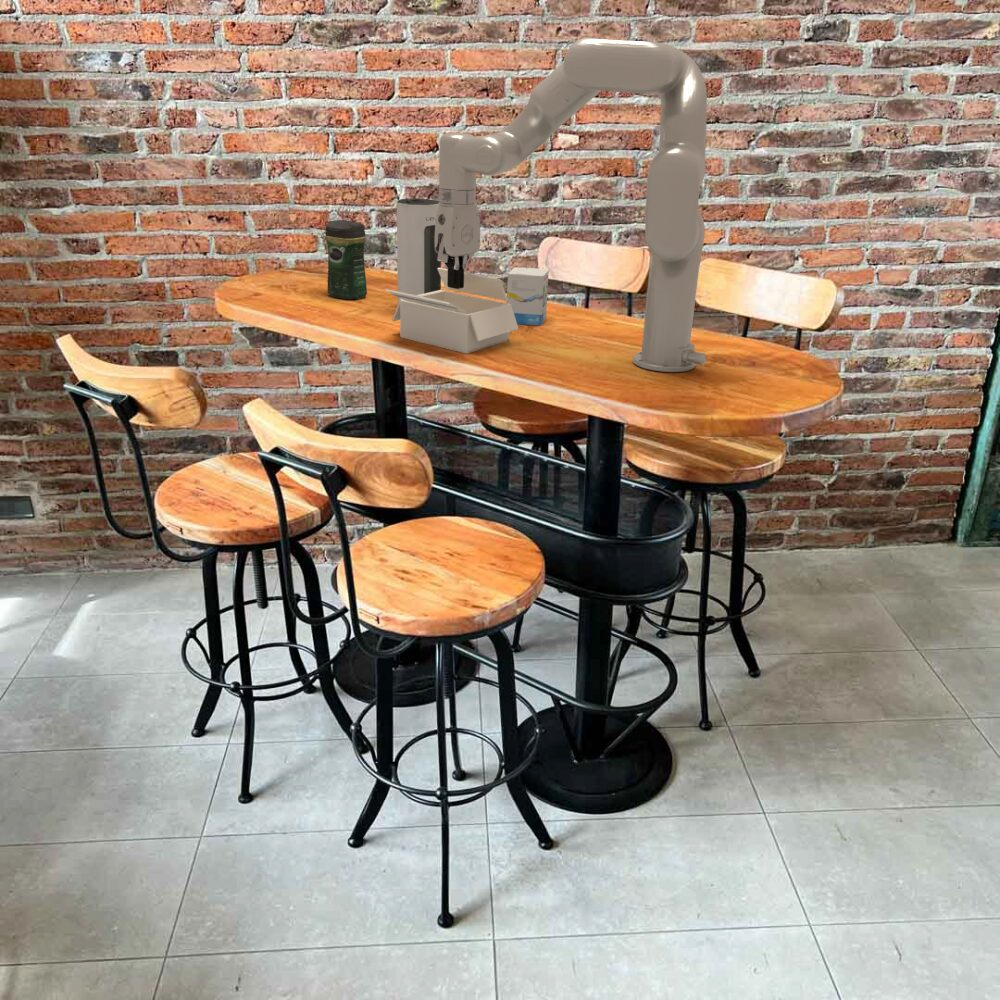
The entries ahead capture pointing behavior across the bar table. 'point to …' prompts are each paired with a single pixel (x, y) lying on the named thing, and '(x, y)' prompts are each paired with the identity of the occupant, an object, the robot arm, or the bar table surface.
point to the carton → (456, 322)
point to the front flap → (425, 300)
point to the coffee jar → (346, 259)
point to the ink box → (528, 294)
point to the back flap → (477, 285)
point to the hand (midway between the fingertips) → (455, 287)
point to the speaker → (417, 246)
